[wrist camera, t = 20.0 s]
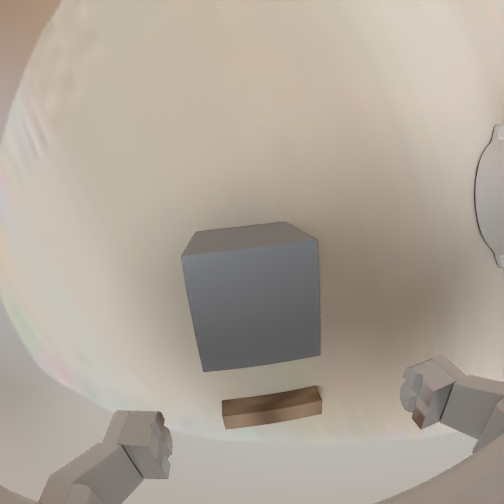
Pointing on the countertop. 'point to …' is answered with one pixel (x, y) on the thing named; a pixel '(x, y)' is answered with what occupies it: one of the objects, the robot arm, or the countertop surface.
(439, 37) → the countertop surface
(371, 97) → the countertop surface
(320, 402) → the bar
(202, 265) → the matte gray box
